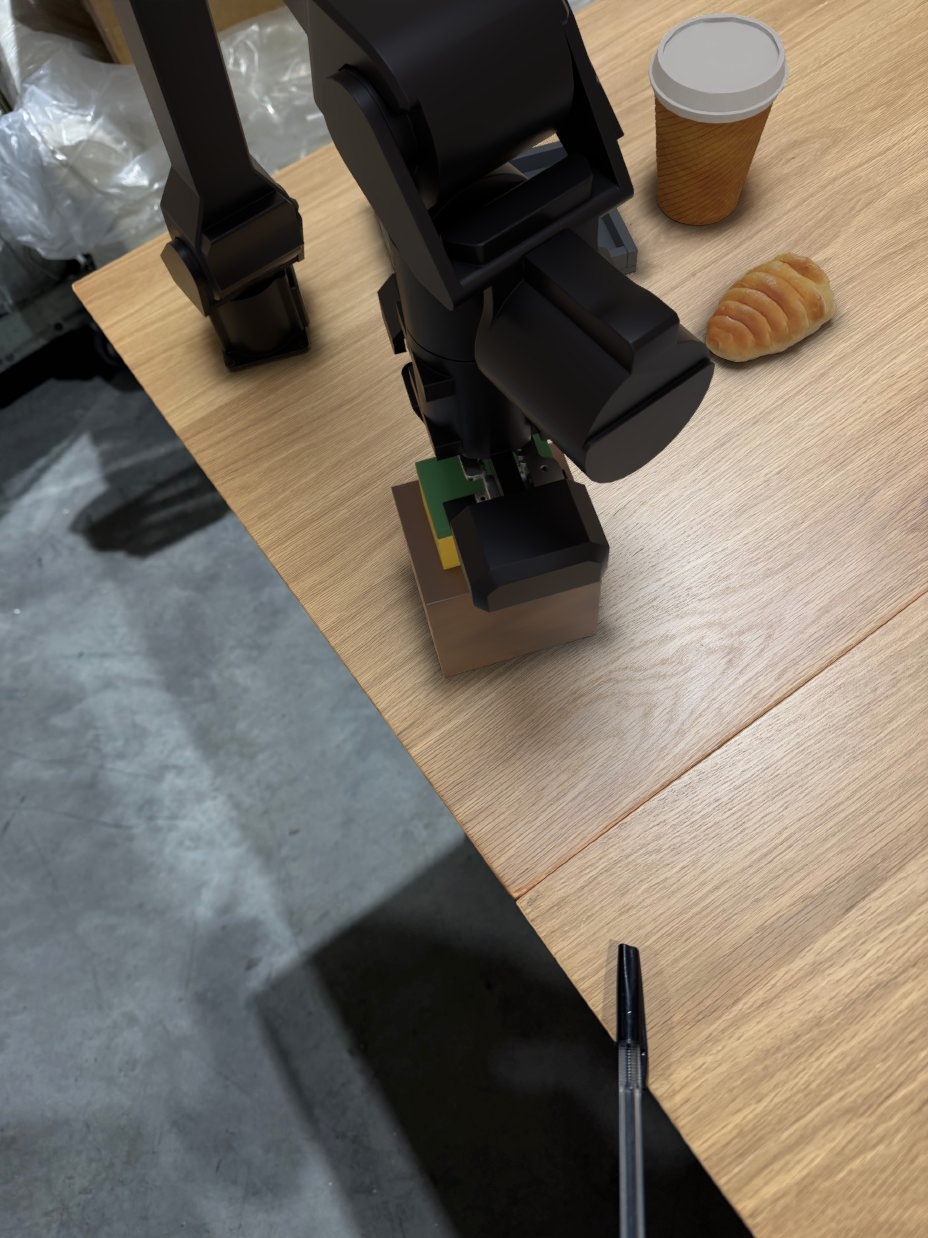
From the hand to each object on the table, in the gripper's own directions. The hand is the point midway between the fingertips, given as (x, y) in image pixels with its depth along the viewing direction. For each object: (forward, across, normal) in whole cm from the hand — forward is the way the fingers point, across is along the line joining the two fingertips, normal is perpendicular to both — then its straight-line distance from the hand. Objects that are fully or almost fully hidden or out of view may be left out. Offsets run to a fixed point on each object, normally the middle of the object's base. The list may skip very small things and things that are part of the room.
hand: (494, 514), depth 53 cm
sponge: (0, 0, 0) cm, 0 cm away
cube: (+10, 0, 0) cm, 10 cm away
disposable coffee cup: (+11, +30, -25) cm, 40 cm away
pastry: (+11, +16, -25) cm, 32 cm away
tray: (+10, +31, -9) cm, 34 cm away
